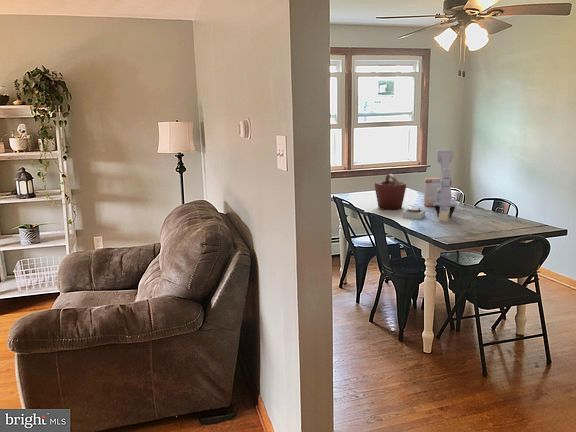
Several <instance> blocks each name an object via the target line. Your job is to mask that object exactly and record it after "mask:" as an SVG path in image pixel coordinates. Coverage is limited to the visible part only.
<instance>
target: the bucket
mask: <svg viewBox="0 0 576 432" xmlns="http://www.w3.org/2000/svg"><path fill="white" fill-rule="evenodd" d="M390 178H391V179H392V180H390ZM406 188H407V183H406V181H399V180H398V179H397V178H396V177H395V175H394V174H393V173H387V174H386V175H385V180H380V181H376V182H375V183H374V190H375V196H376V201H377V206H378V208H379V209H381V210H384V211H388V210H389V211H396V210H402V207H403V202H404V198H405V194H406V190H407V189H406Z"/></svg>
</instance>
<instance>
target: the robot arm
mask: <svg viewBox="0 0 576 432" xmlns="http://www.w3.org/2000/svg"><path fill="white" fill-rule="evenodd" d="M453 157H454V150H453V149H438V150H437V153H436V161H437V163H439V164H440V178H441V183H440V188H438V189H437V190H436V201H437V202H438V203H433V206H432V207H434V209H435V212H436V213H435V216H437V218H439V213H440V212H441V211H448V212H450V216H449V218H450V219H452V215H453V212H454V211H455V209H456V208H458V204H457V203H451V201H452V190H451V188H452V184H453V180H452V175H451V172H452V171H451V169H450V167H449V166H450V165H449V164H450V163H452V161H453Z"/></svg>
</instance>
